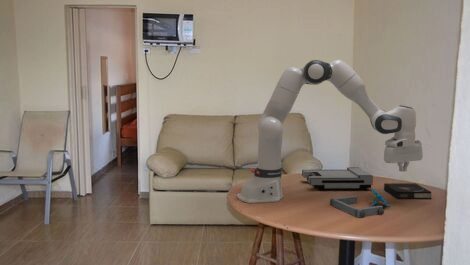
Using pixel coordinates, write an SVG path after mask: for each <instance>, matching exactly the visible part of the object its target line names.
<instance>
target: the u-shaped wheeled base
mask: <svg viewBox="0 0 470 265" xmlns="http://www.w3.org/2000/svg"><path fill="white" fill-rule="evenodd" d="M351 204H358V195H357V196H356V195H351V196H343V197H342V196H341V197H335V198H334V197H332V198H331V197H330V198H329V205H330V206H331V207H333V208H336V209H338V210H340V211H342V212H345V213H347V214H349V215H351V216H354V217H355V218H358V219H359V218H362V219H363V218H365V217H367V216H373V215H375V216H376V215H380V216H381V215H384V213H385V209H384V206H383V205H376V206H375V205H374V206H369V207H360V208H357V207H355V206H352V205H351Z"/></svg>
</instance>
